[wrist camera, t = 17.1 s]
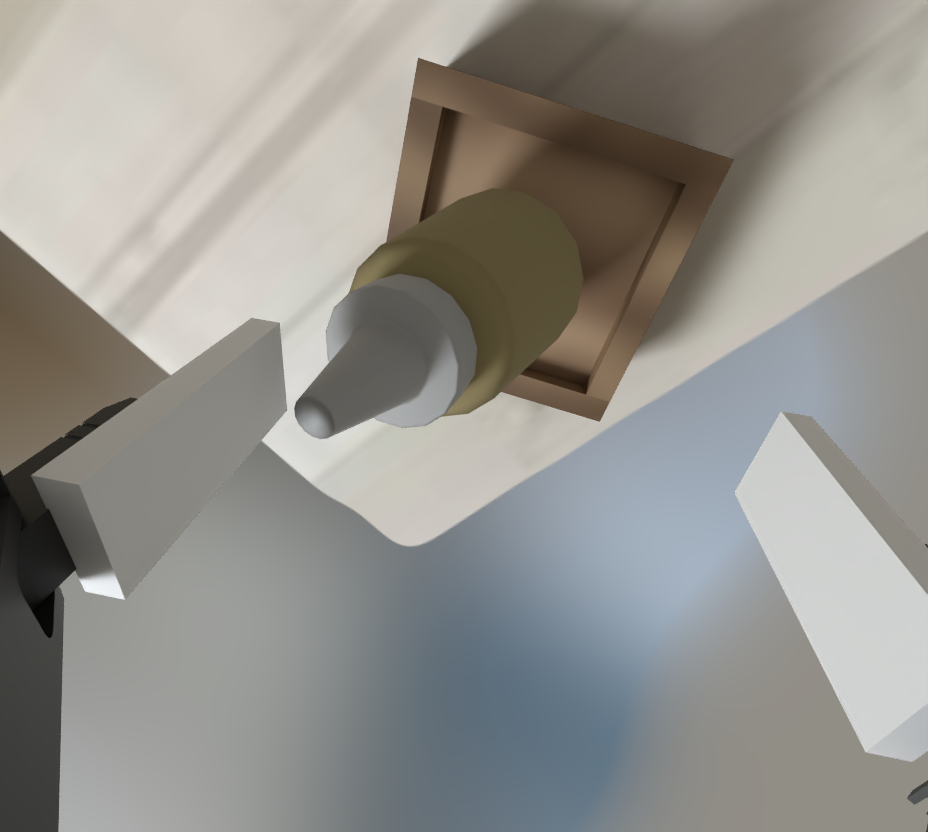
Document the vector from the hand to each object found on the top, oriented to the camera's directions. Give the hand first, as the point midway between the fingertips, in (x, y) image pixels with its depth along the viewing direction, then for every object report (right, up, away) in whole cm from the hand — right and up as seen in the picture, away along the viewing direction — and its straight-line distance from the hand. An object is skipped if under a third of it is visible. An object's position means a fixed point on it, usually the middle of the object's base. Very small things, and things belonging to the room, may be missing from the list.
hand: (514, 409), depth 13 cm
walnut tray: (+3, +11, +19) cm, 22 cm away
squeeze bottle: (+2, +8, +13) cm, 16 cm away
